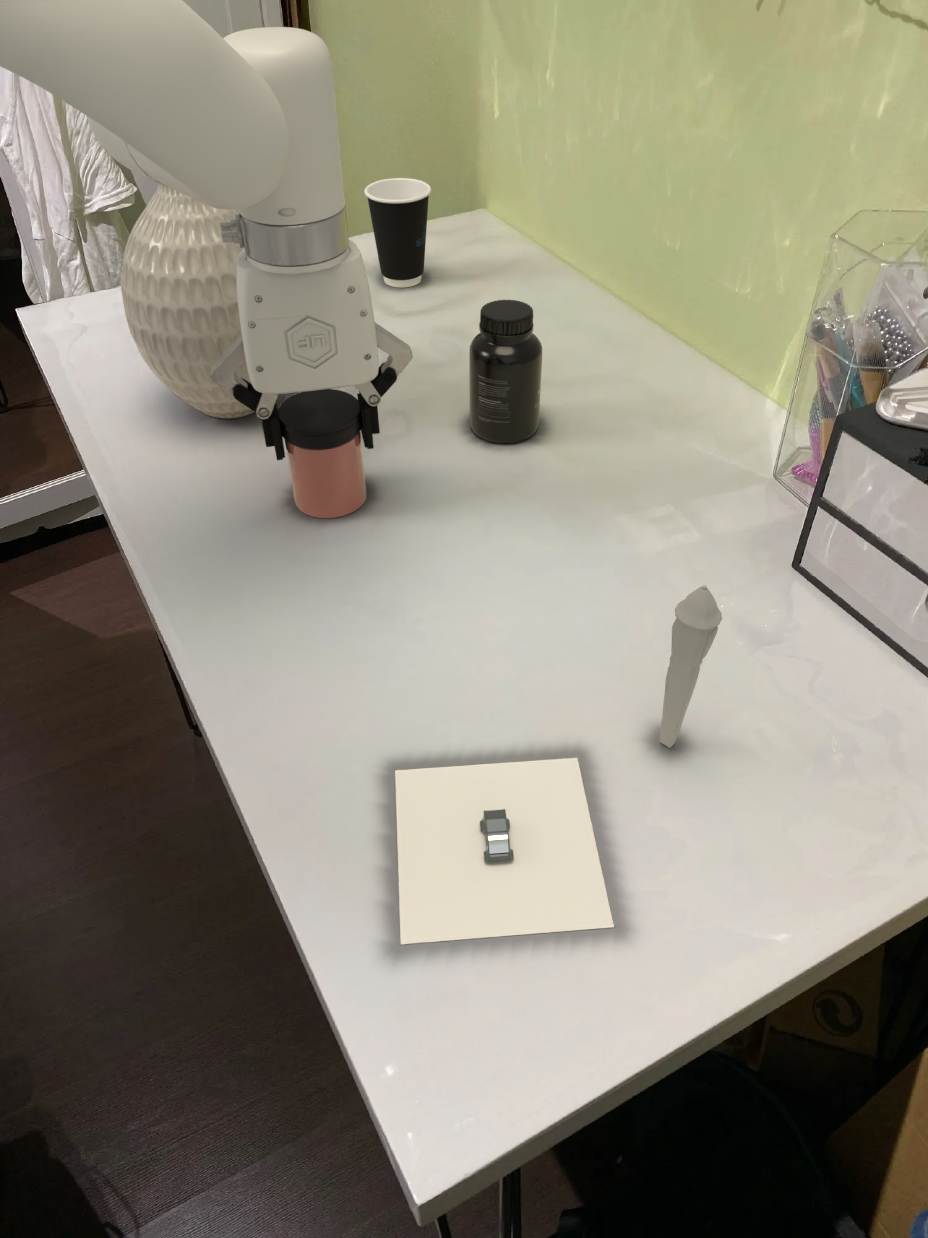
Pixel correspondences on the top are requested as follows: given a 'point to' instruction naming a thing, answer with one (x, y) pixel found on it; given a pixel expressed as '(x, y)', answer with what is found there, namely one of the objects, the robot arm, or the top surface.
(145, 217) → the vase
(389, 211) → the dixie cup
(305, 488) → the cream jar
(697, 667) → the grey tapered bar
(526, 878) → the cream paper sheet
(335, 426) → the jar lid
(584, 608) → the top surface
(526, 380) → the supplement bottle
